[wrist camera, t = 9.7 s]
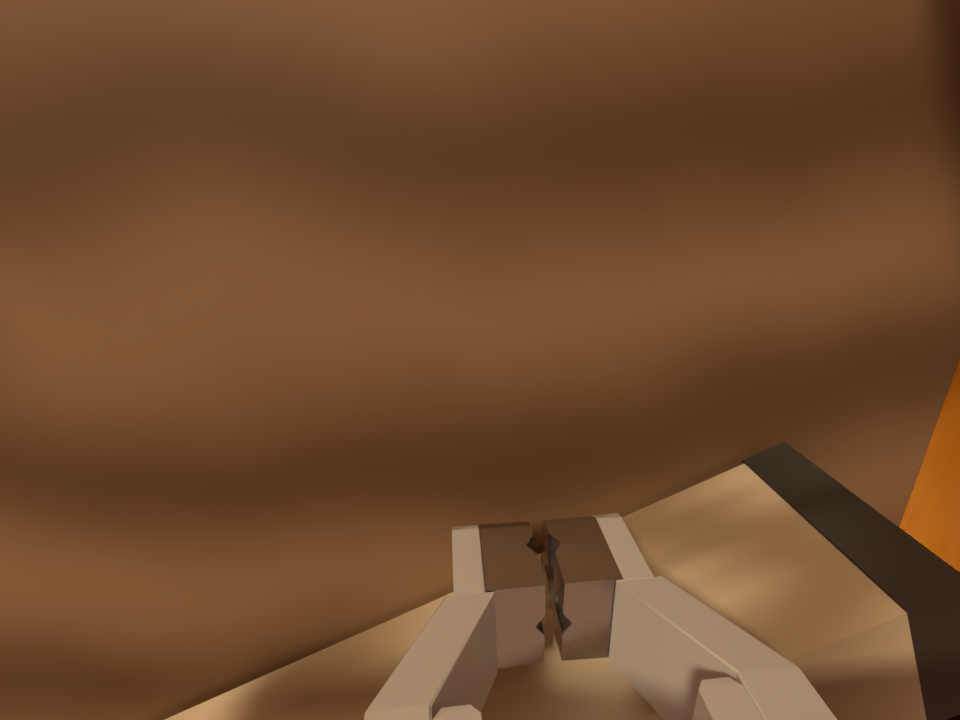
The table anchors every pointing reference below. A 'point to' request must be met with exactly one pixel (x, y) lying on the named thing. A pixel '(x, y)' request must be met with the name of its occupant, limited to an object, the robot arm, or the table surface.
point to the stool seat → (433, 298)
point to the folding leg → (722, 587)
